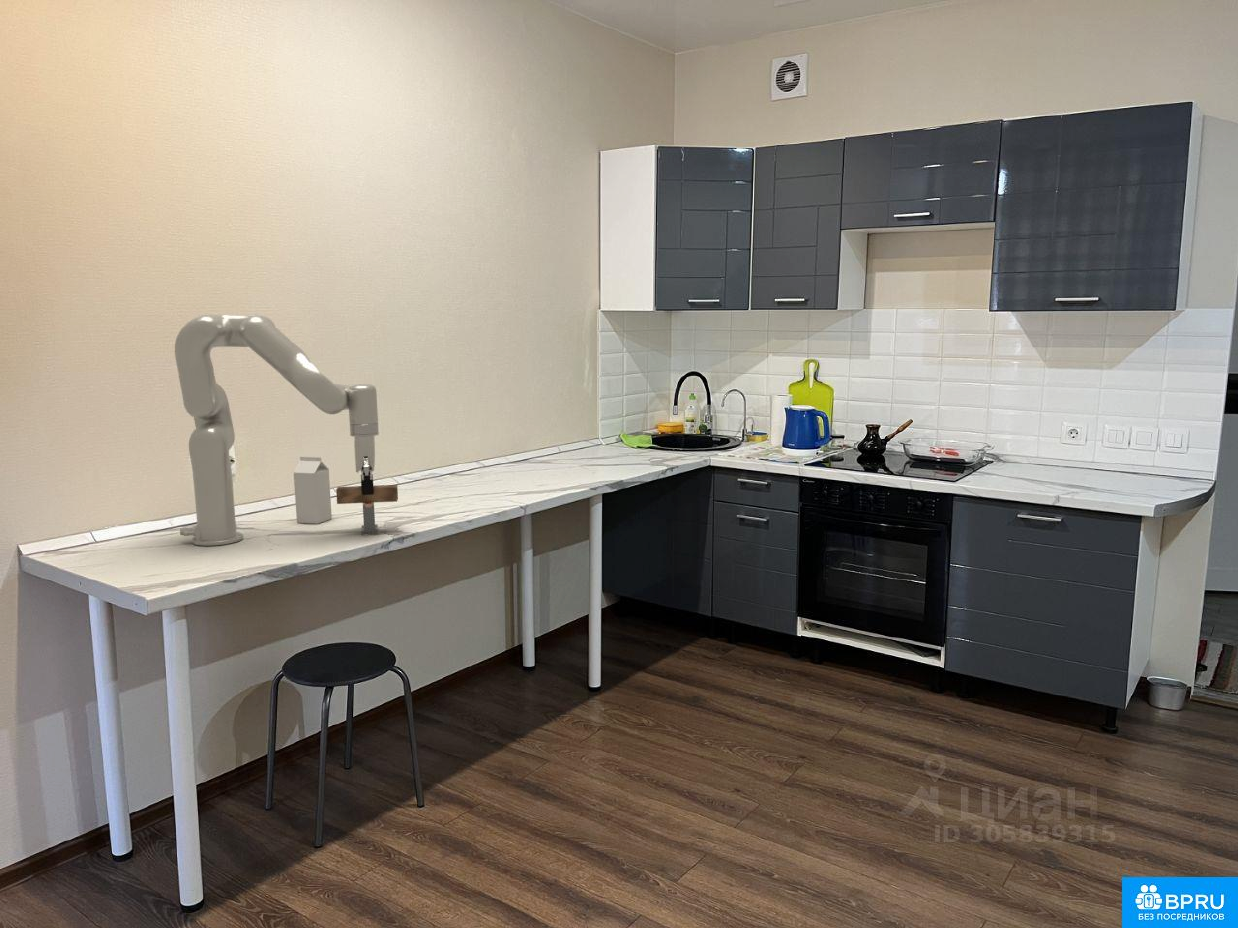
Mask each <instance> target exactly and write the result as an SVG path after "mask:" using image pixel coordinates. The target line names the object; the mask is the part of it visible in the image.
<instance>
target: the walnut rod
mask: <svg viewBox="0 0 1238 928" xmlns="http://www.w3.org/2000/svg"><path fill="white" fill-rule="evenodd" d="M373 486H374V494H373V495H362V491H361V485H359V486H357V485H355V486H352V485H351V486H337V488H336V490H335V491H336V494H335V495H336V504H337V505H343V504H344V505H345V504H348V505H349V504H363V503H373V502H374V503H391V502H392V503H393V502H395V503H396V502H398V501H399V500H398V499H399V491H398V484H384V485H378V484H377V485H373Z"/></svg>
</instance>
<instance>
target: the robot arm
mask: <svg viewBox="0 0 1238 928" xmlns="http://www.w3.org/2000/svg"><path fill="white" fill-rule="evenodd" d="M219 347H220V348H221V347H223V348H224V347H226V348H227V347H229V348H230V347H231V348H250V349H251V350H252V351H253V352H254V353H256V355H258V356H259V357H261V359H262V360H264V361H265V362H266V363H267V364H269V366H270V367H271V368H273V369H274V370H275V371H276V372H278V373H279V374H280V375H281V376H282V377H283V378H284V380H286V381H287V382H288V383H289V384H291V386H293V387H294V388H295V389H296V390H297V391H298V392H299V393H301V394H302V396H304V397H305V398H306V399H307V400H308V401H310V402H311V404H313V405H314V406H315V407H316V408H318V409H319V410H320V411H322V412H323V413H325V414H327V415H337V414H339V413H341V412H342V411H347V410H348V416H349V417H348V418H349V419H348V420H349V435H350V437H353V438H354V439H353V440H354V441H353V443H354V462H355V463H354V464H355V472H356V473H359V472H361V474H360V486H361V491H362V495H373V494H374V486H375V485H374V479H373V478H374V477H373V476H374V474H373V472H374V471H375V463H376V449H375V444H376V442H375V436H379V433H380V432H379V416H378V415H379V413H378V396H377V395H378V394H377V389H376V386H374V385H373V384H367V383H366V384H365V383H363V384H352V385H350V384H349V385H347V384H337V383H333V382H332V381H331V380H330V379H329V378H328V377H327V376H325V375H324V374H323V373H322V371H320V370H319V369H318V368H317V367H316V366H315V365H314V364H313V362H312V361H311V360H310V358H309V357H308V355H307V354H306V353H305V352H304V351H303V350H302V349H301V347H299V346H298V345H297V344H296V343H295V342H293V341H292V340H291V339H290V338H288V337H287V336H286V334H284V333H282V331H281V330H280V329H278V327H276V324H274V322H273V321H272V319H270V318H269V317H267V316H266V315H265V316H264V315H259V314H258V315H257V314H255V315H225V314H224V315H221V314H203V315H199V316H197V317H194V318H193V319H191V320H190V321H188V322H187V323H185V324H184V326H182V328H181V329H180V331H179V332H178V334H177V335H176V339H175V343H174V357H175V363H176V367H177V374H178V379H179V385H180V389H181V395H182V402H183V406H184V409H185V411H186V413H187V414H188V415H190V416H191V417H193V420H194V425H195V429H194V430H193V431H192V433H191V434H190V436H189V440H188V452H189V456H190V463H191V469H192V478H193V489H194V500H195V501H194V502H195V511H196V512H195V513H196V514H195V515H196V525H194V526H192V527H181V528H179V534H180V536H184V537H187V536H188V537H189V536H193V537H192V539H191V543H192V544H193V545H195V546H201V547H203V546H204V547H205V546H206V547H209V546H210V547H211V546H221V545H222V546H223V545H229V544H233V543H236V542H239V541H242V540H243V539H244V534H243V533H241V532H240V531H237V523H236V509H235V497H234V496H235V495H234V483H233V472H232V464H231V458H230V457H231V456H230V450H231V448H232V447H233V445H234V443H235V438H236V435H235V429H234V423H233V419H232V412H231V409H230V404H229V398H228V396H227V393H226V391H225V390H224V388H223V387H222V386H221V385H219V384H218V383H217V381H216V377H215V371H214V366H213V362H212V358H211V351H212V349H213V348H219Z"/></svg>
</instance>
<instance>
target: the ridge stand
mask: <svg viewBox="0 0 1238 928" xmlns="http://www.w3.org/2000/svg"><path fill="white" fill-rule="evenodd" d="M362 513H363V514H362V517H363V525H361V536H364V535H363V534H369V535H378V534H379V525H378V524H377V523H376V519H375V518H376V517H375V516H376V515H375V514H376V513H375V502H373V503H362Z"/></svg>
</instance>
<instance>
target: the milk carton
mask: <svg viewBox="0 0 1238 928" xmlns="http://www.w3.org/2000/svg"><path fill="white" fill-rule="evenodd" d="M293 483H294V501H295V514H296V515H295V516H296V523H300V524H313V525H314V524H322V523H323V522H327V521H329V520H332V518H333V517H332V516H333V515H332V501H331V485H330V469H329V468H328V467H327V465H325V464H324V463H323V461H322V457H319V456H318V457H315V456H313V457H312V456H299V462H298V463H297V465H296V467H295V469H294V470H293Z"/></svg>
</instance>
